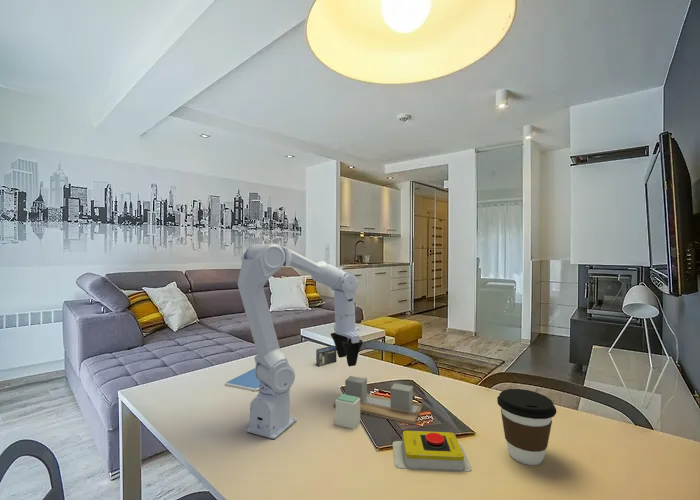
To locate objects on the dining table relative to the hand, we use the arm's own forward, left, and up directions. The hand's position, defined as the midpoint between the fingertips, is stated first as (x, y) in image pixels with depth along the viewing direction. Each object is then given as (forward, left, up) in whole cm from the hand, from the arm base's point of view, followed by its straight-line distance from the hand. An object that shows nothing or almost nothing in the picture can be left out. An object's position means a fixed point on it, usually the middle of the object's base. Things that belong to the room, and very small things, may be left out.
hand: (346, 361), depth 98 cm
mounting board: (-1, -10, -11) cm, 15 cm away
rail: (-1, -10, -11) cm, 15 cm away
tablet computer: (+3, +33, -12) cm, 35 cm away
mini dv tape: (+24, +19, -11) cm, 32 cm away
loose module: (-12, -6, -11) cm, 17 cm away
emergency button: (-17, -27, -12) cm, 34 cm away
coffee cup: (-9, -45, -11) cm, 47 cm away
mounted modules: (-1, -10, -9) cm, 14 cm away
